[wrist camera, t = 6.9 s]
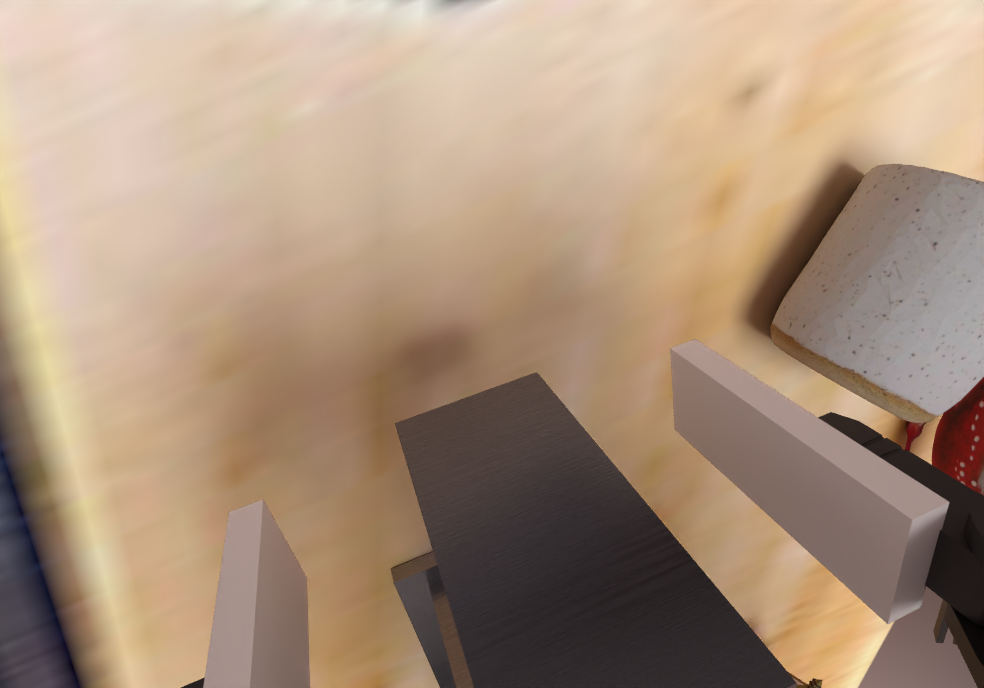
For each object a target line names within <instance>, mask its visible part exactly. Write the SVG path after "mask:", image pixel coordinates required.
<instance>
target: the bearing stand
mask: <svg viewBox="0 0 984 688" xmlns="http://www.w3.org/2000/svg"><path fill="white" fill-rule="evenodd" d="M391 571H392V576H393V581H394V584H395V587H396V589H397V591H398V593H399V596H400V598H401V600H402V602H403V605H404V607H405V609H406V611H407V614H408V616H409V618H410V620H411V623H412V625H413V627H414V629H415V632H416V634H417V636H418V638H419V641H420V643H421V645H422V647H423V650H424V652H425V654H426V656H427V659H428V661H429V663H430V665H431V668H432V670H433V672H434V675H435V677H436V679H437V681H438V684H439V686H440V688H474V686H473V683H472V679H471V676H470V673H469V669H468V666H467V663H466V659H465V656H464V653H463V649H462V646H461V643H460V639H459V636H458V633H457V629H456V626H455V622H454V619H453V616H452V612H451V609H450V606H449V602H448V599H447V596H446V592H445V589H444V586H443V582H442V579H441V576H440V572H439V569H438V566H437V562H436V559H435V555H434V552H431V553H429V554H426V555H424V556H421V557H419V558H416V559H414V560H412V561H409V562H407V563H404V564H402V565H399V566H397V567H395V568H392V569H391Z"/></svg>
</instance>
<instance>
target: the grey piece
mask: <svg viewBox="0 0 984 688" xmlns="http://www.w3.org/2000/svg"><path fill="white" fill-rule="evenodd" d="M395 425H396V428H397V432H398V435H399V438H400V442H401V445H402V448H403V452H404V455H405V458H406V462H407V465H408V468H409V472H410V475H411V478H412V482H413V485H414V488H415V492H416V495H417V499H418V502H419V505H420V509H421V512H422V515H423V519H424V522H425V525H426V529H427V532H428V535H429V539H430V542H431V545H432V549H433V552H434V555H435V559H436V562H437V566H438V569H439V572H440V576H441V579H442V582H443V586H444V589H445V592H446V596H447V599H448V602H449V606H450V609H451V612H452V616H453V619H454V622H455V626H456V629H457V633H458V636H459V639H460V643H461V646H462V649H463V653H464V656H465V659H466V663H467V666H468V669H469V673H470V676H471V679H472V683H473V686H474V688H796V684H797V683H796V682H795V680H794V679H793V678H792V677H791V676H790V674H789V673H788V672H787V671H786V670H785V668H784V667H783V666H782V665H781V664H780V662H779V661H778V660H777V659H776V658H775V656H774V655H773V654H772V653H771V652H770V651H769V649H768V648H767V647H766V646H765V645H764V643H763V642H762V641H761V640H760V639H759V637H758V636H757V635H756V634H755V633H754V631H753V630H752V629H751V628H750V627H749V625H748V624H747V623H746V622H745V621H744V619H743V618H742V617H741V616H740V615H739V613H738V612H737V611H736V610H735V609H734V607H733V606H732V605H731V604H730V603H729V601H728V600H727V599H726V598H725V597H724V596H723V594H722V593H721V592H720V591H719V590H718V588H717V587H716V586H715V585H714V584H713V582H712V581H711V580H710V579H709V578H708V576H707V575H706V574H705V573H704V572H703V570H702V569H701V568H700V567H699V566H698V564H697V563H696V562H695V561H694V560H693V558H692V557H691V556H690V555H689V554H688V552H687V551H686V550H685V549H684V548H683V547H682V545H681V544H680V543H679V542H678V541H677V539H676V538H675V537H674V536H673V535H672V533H671V532H670V531H669V530H668V529H667V527H666V526H665V525H664V524H663V523H662V521H661V520H660V519H659V518H658V517H657V515H656V514H655V513H654V512H653V511H652V509H651V508H650V507H649V506H648V505H647V503H646V502H645V501H644V500H643V499H642V497H641V496H640V495H639V494H638V493H637V492H636V490H635V489H634V488H633V487H632V486H631V484H630V483H629V482H628V481H627V480H626V478H625V477H624V476H623V475H622V474H621V472H620V471H619V470H618V469H617V468H616V466H615V465H614V464H613V463H612V462H611V460H610V459H609V458H608V457H607V456H606V454H605V453H604V452H603V451H602V450H601V448H600V447H599V446H598V445H597V444H596V442H595V441H594V440H593V439H592V438H591V437H590V435H589V434H588V433H587V432H586V431H585V429H584V428H583V427H582V426H581V425H580V423H579V422H578V421H577V420H576V419H575V417H574V416H573V415H572V414H571V413H570V411H569V410H568V409H567V408H566V407H565V405H564V404H563V403H562V402H561V401H560V399H559V398H558V397H557V396H556V395H555V393H554V392H553V391H552V390H551V389H550V388H549V386H548V385H547V384H546V383H545V382H544V380H543V379H542V378H541V377H540V376H539V374H538V373H537V372H536V373H533V374H530V375H528V376H525V377H522V378H519V379H517V380H514V381H511V382H508V383H506V384H503V385H500V386H497V387H495V388H492V389H489V390H486V391H484V392H481V393H478V394H475V395H472V396H470V397H467V398H464V399H461V400H459V401H456V402H453V403H450V404H448V405H445V406H442V407H439V408H437V409H434V410H431V411H428V412H425V413H423V414H420V415H417V416H414V417H412V418H409V419H406V420H403V421H401V422H398V423H395Z"/></svg>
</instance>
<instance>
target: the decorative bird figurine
mask: <svg viewBox="0 0 984 688" xmlns="http://www.w3.org/2000/svg"><path fill="white" fill-rule="evenodd" d="M925 423H926V422H922V423H914V422H908V424H907V431H906V432H907V436H908V437H907V443H906V447H905V450H908V451H909V450H910V446H911V442H912V441H913V440H914V439H915V438H916V437H918V436H919V435H920V434H921V432H922V429H923V426H924V424H925ZM932 465H933V466H934V467H936V468H938V469H939V470H941V471H942V472H944V473H946V474H947V475H949V476H951V477H952V478H954V479H956V480H957V481H959V482H961V483H962V484H964V485H966V486H967V487H969V488H971V489H972V490H974V491H976V492H978V493H980V494H982V495H983V496H984V377H983V378H982V379H981V380H980V381H979V382H978V383H977V384H976V385H975V386H974V387H973V388H972V389H971V390H970V391H969V392H968V393H967V394H966V395H965V396H964V397H963V398H962V399H961V400H960V401H959V402H957V403H956V404H955V405H954V406H952V407H951V408H950V409H948V410H947V411H945V412H944V414H943V416H942V418H941V420H940V422H939V424H938V426H937V430H936V433H935V438H934V443H933V450H932Z"/></svg>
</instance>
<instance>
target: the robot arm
mask: <svg viewBox="0 0 984 688" xmlns="http://www.w3.org/2000/svg"><path fill="white" fill-rule="evenodd" d="M670 352H671V370H672V389H673V407H674V426H675V430H676V431H677V432H678V433H679V434H680V435H681V436H682V437H683V438H685V439H686V440H687V441H688V442H689V443H690V444H691V445H692V446H693V447H694V448H695V449H697V450H698V451H699V452H700V453H701V454H702V455H703V456H704V457H705V458H706V459H707V460H709V461H710V462H711V463H712V464H713V465H714V466H715V467H716V468H717V469H718V470H720V471H721V472H722V473H723V474H724V475H725V476H726V477H727V478H728V479H729V480H730V481H732V482H733V483H734V484H735V485H736V486H737V487H738V488H739V489H740V490H741V491H743V492H744V493H745V494H746V495H747V496H748V497H749V498H750V499H751V500H752V501H753V502H755V503H756V504H757V505H758V506H759V507H760V508H761V509H762V510H763V511H764V512H766V513H767V514H768V515H769V516H770V517H771V518H772V519H773V520H774V521H775V522H776V523H778V524H779V525H780V526H781V527H782V528H783V529H784V530H785V531H786V532H787V533H788V534H790V535H791V536H792V537H793V538H794V539H795V540H796V541H797V542H798V543H799V544H801V545H802V546H803V547H804V548H805V549H806V550H807V551H808V552H809V553H810V554H811V555H813V556H814V557H815V558H816V559H817V560H818V561H819V562H820V563H821V564H822V565H824V566H825V567H826V568H827V569H828V570H829V571H830V572H831V573H832V574H833V575H834V576H836V577H837V578H838V579H839V580H840V581H841V582H842V583H843V584H844V585H845V586H846V587H848V588H849V589H850V590H851V591H852V592H853V593H854V594H855V595H856V596H857V597H859V598H860V599H861V600H862V601H863V602H864V603H865V604H866V605H867V606H868V607H869V608H871V609H872V610H873V611H874V612H875V613H876V614H877V615H878V616H879V617H880V618H882V619H883V620H884V621H885V622H886V623H887V624H889V623H891V622H893V621H895V620H897V619H899V618H901V617H903V616H905V615H907V614H909V613H910V612H912V611H914V610H916V609H918V608H920V607H921V603H922V600H923V596H924V592H925V589H926V586H927V587H928V588H930V589H931V590H932V591H933V592H935V593H936V594H937V595H938V596H940V597H941V598H942V599H943V601H942V605H941V608H940V611H939V614H938V618H937V621H936V624H935V627H934V636H935V641H936V643H943V642H944V639H945V636H946V632H947V629H948V627H949V629H950V631H951V633H952V635H953V637H954V639H953V644H957V646H958V648H959V650H960V652H961V654H962V656H963V658H964V660H965V662H966V664H967V666H968V668H969V671H970V673H971V675H972V676H973V679H974V681H975V683H976V685H977V687H978V688H984V496H983V495H982V494H980V493H978V492H976V491H974V490H972V489H971V488H969V487H967V486H966V485H964V484H962V483H961V482H959V481H957V480H956V479H954V478H952V477H951V476H949V475H947V474H946V473H944V472H942V471H941V470H939V469H938V468H936V467H934V466H933V465H931V464H929V463H928V462H926V461H924V460H923V459H921V458H919V457H918V456H916V455H914V454H913V453H911V452H909V451H908V450H903V449H902V448H901V446H899V445H898V444H896V443H894V442H893V441H891V440H889V439H888V438H885V439H884V438H883V437H882V435H881V434H879V433H878V432H876V431H874V430H873V429H871V428H869V427H868V426H866V425H864V424H863V423H861V422H859V421H857V420H854V419H851V418H848V417H845V416H841V415H838V414H835V413H832V412H830V413H828V414H826V415H823V416H821V417H816V416H814V415H813V414H811V413H810V412H808V411H807V410H805V409H804V408H802V407H800V406H799V405H797V404H796V403H794V402H793V401H791V400H790V399H788V398H786V397H785V396H783V395H782V394H780V393H779V392H777V391H776V390H774V389H772V388H771V387H769V386H768V385H766V384H765V383H763V382H762V381H760V380H758V379H757V378H755V377H754V376H752V375H751V374H749V373H748V372H746V371H744V370H743V369H741V368H740V367H738V366H737V365H735V364H733V363H732V362H730V361H729V360H727V359H726V358H724V357H723V356H721V355H719V354H718V353H716V352H715V351H713V350H712V349H710V348H709V347H707V346H705V345H704V344H702V343H701V342H699V341H698V340H696V339H694V340H691V341H689V342H686V343H683V344H680V345H678V346H675V347H672V348H670ZM181 688H310V671H309V636H308V601H307V577H306V575H305V573H304V572H303V570H302V568H301V566H300V564H299V563H298V561H297V559H296V557H295V556H294V554H293V552H292V550H291V548H290V547H289V545H288V543H287V541H286V539H285V538H284V536H283V534H282V532H281V530H280V529H279V527H278V525H277V523H276V521H275V520H274V518H273V516H272V514H271V512H270V511H269V509H268V507H267V505H266V503H265V502H264V500H260V501H257V502H255V503H252V504H249V505H247V506H244V507H241V508H238V509H236V510H233V511H230V512H229V517H228V523H227V530H226V537H225V544H224V551H223V557H222V564H221V571H220V578H219V585H218V591H217V598H216V605H215V612H214V618H213V625H212V632H211V639H210V646H209V652H208V659H207V666H206V673H205V678H203V679H200V680H198V681H195V682H193V683H191V684H188V685H186V686H184V687H181Z"/></svg>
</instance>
